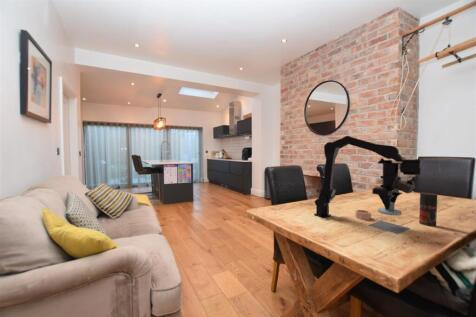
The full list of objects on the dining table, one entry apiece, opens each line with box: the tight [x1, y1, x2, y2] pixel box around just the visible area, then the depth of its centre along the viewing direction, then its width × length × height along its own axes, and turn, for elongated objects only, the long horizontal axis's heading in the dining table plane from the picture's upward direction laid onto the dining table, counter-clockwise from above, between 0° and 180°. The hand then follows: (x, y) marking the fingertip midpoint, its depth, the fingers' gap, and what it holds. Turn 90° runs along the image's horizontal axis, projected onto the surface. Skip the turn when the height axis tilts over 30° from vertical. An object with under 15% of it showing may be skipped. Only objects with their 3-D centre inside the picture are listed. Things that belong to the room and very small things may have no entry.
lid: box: [378, 202, 402, 217], centre depth 96 cm, size 8×8×4 cm
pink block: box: [354, 209, 372, 221], centre depth 109 cm, size 6×6×4 cm
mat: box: [367, 220, 411, 235], centre depth 96 cm, size 12×12×1 cm
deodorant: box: [418, 192, 438, 227], centre depth 99 cm, size 6×6×15 cm
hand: (389, 208), depth 96 cm, fingers closed on lid, 3 cm apart
